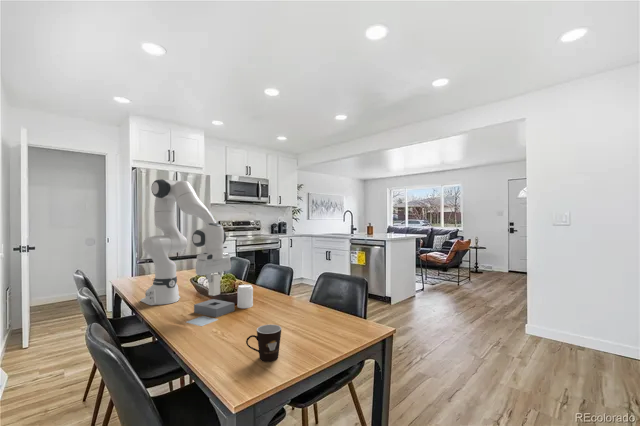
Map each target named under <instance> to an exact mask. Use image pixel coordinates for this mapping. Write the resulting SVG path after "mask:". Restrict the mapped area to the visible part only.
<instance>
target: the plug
mask: <svg viewBox="0 0 640 426" xmlns="http://www.w3.org/2000/svg"><path fill="white" fill-rule="evenodd" d="M210 277H211V279H212V282H211V283H208V296H214V297H215V296H218V295H221V280H220V274H218V273H212V274H211V276H210Z"/></svg>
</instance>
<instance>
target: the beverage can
mask: <svg viewBox="0 0 640 426" xmlns="http://www.w3.org/2000/svg"><path fill="white" fill-rule="evenodd" d="M253 296H254V287H253V285H252V284H239V285H238V287H237V308H239V309H250V308H252V307H253V305H254V297H253Z"/></svg>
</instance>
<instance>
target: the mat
mask: <svg viewBox="0 0 640 426" xmlns="http://www.w3.org/2000/svg"><path fill="white" fill-rule="evenodd" d="M216 321H219V319H218V318H216V317H211V316H207V315H202V316H198V317H196V318H193V319H191V320H190V319H189V320H187V321H185V323H186V324H187V323H188V324H191V325H195V326H198V327H199V326H200V327H203V326H206V325H209V324H212V323H214V322H216Z"/></svg>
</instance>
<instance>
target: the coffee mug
mask: <svg viewBox="0 0 640 426" xmlns="http://www.w3.org/2000/svg"><path fill="white" fill-rule="evenodd" d="M281 335H282V326H280V325H277V324H264V325H260V326H258V327H257V328H256V335H255V334H251V335H249V336H248V337H247V338H246V340H245V344H246V346H247V347H248V348H250V349H251V350H253V351H255V352H257V353H258V354H259V355H258V356H259V360H260V361H261V362H264V363H273V362H275V361H276V360H278V359H279V353H280V347H281V346H280V344H281V337H282V336H281ZM251 338H255V339H256V341H257V345H258V347H257V348H258V349H257V348H254V347H253V346H250V344H249V343H248V342H249V340H250V339H251Z"/></svg>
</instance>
